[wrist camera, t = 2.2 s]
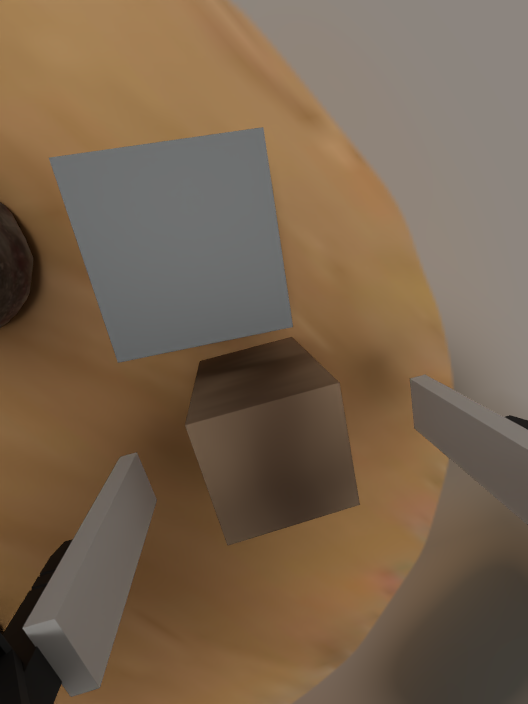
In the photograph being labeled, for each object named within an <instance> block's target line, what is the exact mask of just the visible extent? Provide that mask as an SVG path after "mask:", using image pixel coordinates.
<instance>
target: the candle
mask: <svg viewBox="0 0 528 704" xmlns="http://www.w3.org/2000/svg"><path fill="white" fill-rule="evenodd" d="M32 269H33V256H32V254H31V251H30V249H29V246H28V244H27V241H26V238H25V237H24V235H23V234H22V232H21V229H20V228H19V226H18V225H17V222H16V220H15V219H14V217H13V214H12V213H11V212H10V211H9V210H8V208H7V207H6V206H5V205H3V204H2V203H0V327H2V326H3V325H5V324H6V323H8V322H9V321H10V319H11V318H13V317H14V316H15V315H16V314H17V312H18V311H19V310H20V308H21V307H22V305H23V303H24V302H25V301H26V299H27V297H28V295H29V293H30V286H31V276H32Z"/></svg>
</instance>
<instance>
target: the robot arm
mask: <svg viewBox="0 0 528 704" xmlns="http://www.w3.org/2000/svg"><path fill="white" fill-rule="evenodd" d="M410 386H411V397H412V408H413V419H414V428H415V429H416V430H417V431H418V432H419V433H420V434H422V435H423V436H424V437H425V438H426V439H427V440H429V441H430V442H431V443H432V444H433V445H434V446H436V447H437V448H438V449H439V450H440V451H442V452H443V453H444V454H445V455H446V456H447V457H449V458H450V459H451V460H452V461H453V462H454V463H456V464H457V465H458V466H459V467H460V468H462V469H463V470H464V471H465V472H466V473H467V474H468V475H470V476H471V477H472V478H473V479H474V480H475V481H477V482H478V483H479V484H480V485H481V486H483V487H484V488H485V489H486V490H487V491H489V492H490V493H491V494H492V495H493V496H494V497H495V498H497V499H498V500H499V501H500V502H501V503H503V504H504V505H505V506H506V507H507V508H508V509H509V510H511V511H512V512H513V513H514V514H515V515H516V516H518V517H519V518H520V519H521V520H522V521H524V522H525V523H526V524H527V525H528V420H524V419H521V418H517V417H514V416H506V417H503V416H501V415H499V414H497V413H496V412H494V411H492V410H490V409H488V408H486V407H484V406H483V405H481V404H479V403H477V402H475V401H473V400H471V399H470V398H468V397H466V396H464V395H462V394H460V393H458V392H457V391H455V390H453V389H451V388H449V387H447V386H445V385H443V384H442V383H440V382H438V381H436V380H434V379H432V378H430V377H429V376H427V375H422V376H418V377H414V378H411V379H410ZM156 502H157V499H156V496H155V494H154V492H153V489H152V487H151V485H150V482H149V480H148V477H147V475H146V473H145V470H144V468H143V466H142V463H141V461H140V459H139V456H138V454H137V452H136V453H132V454H129V455H125V456H121V457H120V458H119V460H118V461H117V463H116V465H115V467H114V468H113V470H112V472H111V474H110V475H109V477H108V479H107V481H106V482H105V484H104V486H103V488H102V489H101V491H100V493H99V495H98V496H97V498H96V500H95V502H94V503H93V505H92V507H91V509H90V510H89V512H88V514H87V516H86V517H85V519H84V521H83V523H82V525H81V526H80V528H79V530H78V532H77V533H76V535H75V537H74V539H72V540H69V541H65V542H64V543H63V544H62V545H61V546H60V547H59V548H58V549H57V550H56V551H55V553H54V554H53V555H52V556H51V557H50V558H49V560H48V561H47V563H46V565H45V566H44V568H43V570H42V571H41V573H40V576H39V577H38V578H37V579H36V581H35V583H34V584H33V586H32V590H31V591H29V592H28V594H27V596H26V597H25V599H24V601H23V602H22V604H21V605H20V607H19V609H18V610H17V612H16V614H15V615H14V617H13V618H12V620H11V622H10V623H9V625H8V627H7V628H6V630H5V631H4V633H3V635H2V634H1V632H0V704H53V703H54V701H55V698H56V696H57V693H58V691H59V688H60V686H61V684H62V685H63V686H64V688H65V689H66V691H67V692H68V694H69V695H70V696H71V697H72V696H75V695H79V694H82V693H85V692H88V691H92V690H95V689H98V688H100V686H101V682H102V679H103V676H104V672H105V669H106V666H107V663H108V659H109V656H110V653H111V649H112V646H113V643H114V640H115V636H116V633H117V630H118V626H119V623H120V620H121V617H122V613H123V610H124V607H125V603H126V600H127V597H128V594H129V590H130V587H131V584H132V580H133V577H134V574H135V571H136V567H137V564H138V561H139V557H140V554H141V551H142V548H143V544H144V541H145V538H146V534H147V531H148V528H149V525H150V521H151V518H152V515H153V511H154V508H155V505H156Z"/></svg>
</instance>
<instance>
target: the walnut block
mask: <svg viewBox="0 0 528 704" xmlns="http://www.w3.org/2000/svg"><path fill="white" fill-rule="evenodd" d="M185 427H186V430H187V432H188V435H189V438H190V441H191V444H192V447H193V449H194V452H195V455H196V458H197V461H198V463H199V466H200V469H201V472H202V475H203V478H204V480H205V483H206V486H207V489H208V492H209V494H210V497H211V500H212V503H213V506H214V509H215V511H216V514H217V517H218V520H219V523H220V525H221V528H222V531H223V534H224V537H225V540H226V542H227V545H231V544H234V543H238V542H241V541H244V540H247V539H250V538H254V537H257V536H260V535H263V534H267V533H270V532H273V531H276V530H280V529H283V528H286V527H289V526H293V525H296V524H299V523H302V522H305V521H309V520H312V519H315V518H318V517H322V516H325V515H328V514H331V513H335V512H338V511H341V510H344V509H348V508H351V507H354V506H357V505H360V503H359V497H358V491H357V485H356V479H355V473H354V467H353V461H352V455H351V449H350V443H349V437H348V431H347V425H346V419H345V413H344V407H343V401H342V395H341V389H340V383H339V382H338V381H337V380H336V379H335V378H334V377H333V376H332V375H331V374H330V373H329V372H328V371H327V370H326V369H325V368H324V367H323V366H322V365H320V364H319V363H318V362H317V361H316V360H315V359H314V358H313V357H312V356H311V355H310V354H309V353H308V352H307V351H306V350H305V349H304V348H303V347H302V346H301V345H300V344H298V343H297V342H296V341H295V340H294V339H293V338H292V337H290V338H286V339H282V340H278V341H275V342H271V343H267V344H263V345H259V346H256V347H252V348H248V349H244V350H240V351H237V352H233V353H229V354H225V355H221V356H218V357H214V358H210V359H206V360H202V361H200V363H199V367H198V372H197V376H196V380H195V385H194V389H193V393H192V397H191V402H190V406H189V410H188V415H187V419H186V423H185Z"/></svg>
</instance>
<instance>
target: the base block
mask: <svg viewBox="0 0 528 704" xmlns="http://www.w3.org/2000/svg"><path fill="white" fill-rule="evenodd" d="M49 160H50V163H51V166H52V168H53V171H54V174H55V177H56V180H57V183H58V186H59V189H60V192H61V195H62V198H63V201H64V204H65V207H66V210H67V213H68V216H69V219H70V222H71V225H72V228H73V231H74V234H75V237H76V240H77V243H78V246H79V249H80V251H81V254H82V257H83V260H84V263H85V266H86V269H87V272H88V275H89V278H90V281H91V284H92V287H93V290H94V293H95V296H96V299H97V302H98V305H99V308H100V311H101V314H102V317H103V320H104V323H105V326H106V329H107V331H108V334H109V337H110V340H111V343H112V346H113V349H114V352H115V355H116V358H117V361H118V363H119V362H124V361H129V360H133V359H138V358H143V357H148V356H153V355H158V354H163V353H168V352H173V351H177V350H182V349H187V348H192V347H197V346H202V345H207V344H212V343H217V342H221V341H226V340H231V339H236V338H241V337H246V336H251V335H256V334H261V333H266V332H270V331H275V330H280V329H285V328H290V327H293V324H292V317H291V310H290V304H289V297H288V290H287V284H286V277H285V270H284V264H283V257H282V250H281V243H280V237H279V230H278V223H277V217H276V210H275V203H274V197H273V190H272V183H271V177H270V170H269V163H268V156H267V150H266V143H265V136H264V130H263V127H262V128H255V129H248V130H241V131H234V132H227V133H220V134H213V135H206V136H199V137H192V138H185V139H178V140H171V141H164V142H157V143H150V144H143V145H136V146H129V147H122V148H115V149H108V150H101V151H94V152H86V153H79V154H72V155H65V156H58V157H51V158H49Z"/></svg>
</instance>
